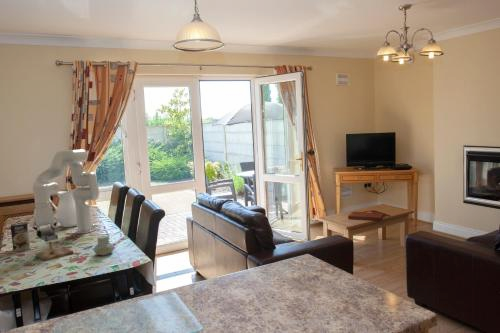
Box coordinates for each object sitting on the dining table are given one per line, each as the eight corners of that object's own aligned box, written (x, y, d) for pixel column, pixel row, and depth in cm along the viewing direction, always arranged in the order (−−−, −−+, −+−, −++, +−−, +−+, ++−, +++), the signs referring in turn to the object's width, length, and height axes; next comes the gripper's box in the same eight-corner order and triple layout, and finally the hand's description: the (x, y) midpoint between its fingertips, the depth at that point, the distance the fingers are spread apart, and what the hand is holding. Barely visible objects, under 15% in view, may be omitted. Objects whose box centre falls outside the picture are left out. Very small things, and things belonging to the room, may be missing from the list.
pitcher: (86, 222, 304) (82, 187, 301) (74, 228, 287) (70, 191, 284) (57, 223, 306) (53, 188, 303) (44, 229, 289) (40, 192, 286)
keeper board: (64, 248, 237) (63, 235, 236) (73, 253, 227) (71, 239, 226) (36, 256, 226) (34, 241, 226) (43, 261, 216) (41, 246, 215)
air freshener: (93, 257, 218) (91, 240, 217) (95, 252, 226) (93, 236, 225) (114, 254, 221) (112, 237, 220) (114, 250, 229) (113, 233, 228)
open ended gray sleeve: (58, 239, 222) (57, 230, 221) (45, 241, 217) (44, 233, 217) (50, 235, 232) (49, 226, 231) (38, 237, 228) (37, 229, 227)
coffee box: (13, 252, 237) (9, 226, 235) (13, 249, 243) (10, 224, 241) (30, 249, 241) (27, 223, 239) (30, 246, 247) (27, 221, 245)
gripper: (56, 202, 234) (59, 231, 236) (24, 207, 222) (27, 238, 224) (60, 203, 228) (63, 233, 230) (27, 209, 217) (31, 240, 219)
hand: (46, 235), depth 227 cm, fingers closed on open ended gray sleeve, 6 cm apart
